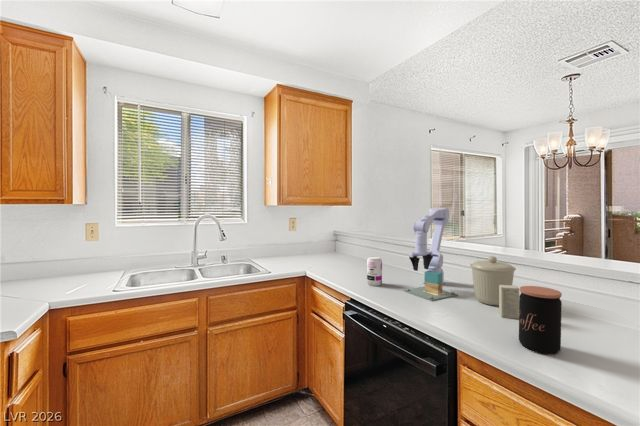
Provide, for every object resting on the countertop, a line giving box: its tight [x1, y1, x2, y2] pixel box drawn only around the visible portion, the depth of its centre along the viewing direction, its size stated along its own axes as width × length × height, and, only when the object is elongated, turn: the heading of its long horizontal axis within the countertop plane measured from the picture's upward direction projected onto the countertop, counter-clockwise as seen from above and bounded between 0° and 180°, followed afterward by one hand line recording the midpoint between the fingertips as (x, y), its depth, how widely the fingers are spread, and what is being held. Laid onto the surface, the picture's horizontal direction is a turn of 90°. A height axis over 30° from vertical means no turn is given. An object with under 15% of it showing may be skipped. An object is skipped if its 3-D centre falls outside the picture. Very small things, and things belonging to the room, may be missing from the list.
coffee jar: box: [518, 285, 563, 355], centre depth 95 cm, size 11×11×18 cm
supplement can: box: [366, 256, 383, 287], centre depth 169 cm, size 8×8×15 cm
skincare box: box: [498, 284, 520, 320], centre depth 121 cm, size 6×4×12 cm
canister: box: [469, 255, 517, 307], centre depth 138 cm, size 18×18×21 cm
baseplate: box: [403, 285, 459, 302], centre depth 152 cm, size 18×18×1 cm
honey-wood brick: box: [424, 282, 444, 294], centre depth 152 cm, size 4×7×5 cm, turn 42°
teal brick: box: [423, 270, 442, 284], centre depth 152 cm, size 4×7×5 cm, turn 42°
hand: (420, 269), depth 159 cm, fingers open, 7 cm apart
